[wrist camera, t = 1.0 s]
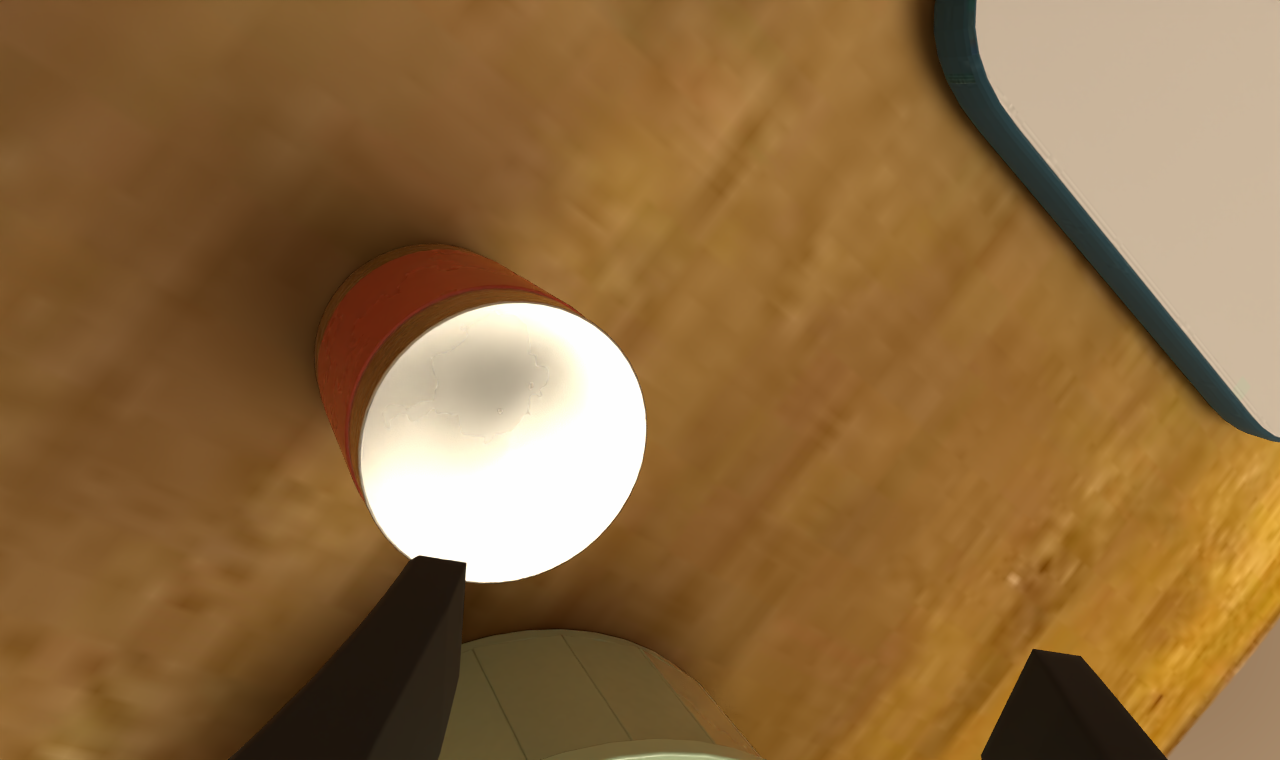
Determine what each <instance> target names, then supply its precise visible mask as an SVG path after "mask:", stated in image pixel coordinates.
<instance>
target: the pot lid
mask: <svg viewBox="0 0 1280 760" xmlns="http://www.w3.org/2000/svg"><path fill="white" fill-rule="evenodd" d="M541 760H766V759H763V758H760V757H757V756H755V755H752V754H749V753H746V752H744V751H741V750H738V749H735V748H733V747H728V746H723V745H718V744H712V743H707V742H702V741H697V740H681V739H657V738H652V739H641V740H630V741H618V742H608V743H604V744H599V745H594V746H590V747H585V748H580V749H575V750H571V751H566V752H562V753H559V754H556V755H553V756H550V757H547V758H544V759H541Z"/></svg>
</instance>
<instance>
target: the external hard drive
mask: <svg viewBox="0 0 1280 760" xmlns="http://www.w3.org/2000/svg"><path fill="white" fill-rule="evenodd" d="M934 36H935V42H936V49H937V55H938V58H939V61H940V64H941V66H942V69H943V72H944V75H945V78H946V80H947V82H948V84H949V86H950V88H951V90H952V92H953V93H954V95H955V97H956V99H957V101H958V102H959V104H960V106H961V108H962V109H963V110H964V112H965V113H966V114H967V116H968V117H969V118H970V120H971V121H972V122H973V124H974V125H975V126H976V128H977V129H978V130H979V132H980V133H981V134H982V135H983V136H984V137H985V139H986V140H987V141H988V142H989V143H990V145H991V146H992V147H993V148H994V149H995V151H996V152H997V153H998V154H999V155H1000V156H1001V158H1002V159H1003V160H1004V161H1005V162H1006V164H1007V165H1008V166H1009V167H1010V168H1011V170H1012V171H1013V172H1014V173H1015V174H1016V175H1017V177H1018V178H1019V179H1020V180H1021V181H1022V183H1023V184H1024V185H1025V186H1026V187H1027V189H1028V190H1029V191H1030V192H1031V193H1032V194H1033V196H1034V197H1035V198H1036V199H1037V200H1038V202H1039V203H1040V204H1041V205H1042V206H1043V208H1044V209H1045V210H1046V211H1047V212H1048V213H1049V215H1050V216H1051V217H1052V218H1053V219H1054V221H1055V222H1056V223H1057V224H1058V225H1059V227H1060V228H1061V229H1062V230H1063V231H1064V232H1065V234H1066V235H1067V236H1068V237H1069V238H1070V240H1071V241H1072V242H1073V243H1074V244H1075V246H1076V247H1077V248H1078V249H1079V250H1080V251H1081V253H1082V254H1083V255H1084V256H1085V257H1086V259H1087V260H1088V261H1089V262H1090V263H1091V265H1092V266H1093V267H1094V268H1095V269H1096V270H1097V272H1098V273H1099V274H1100V275H1101V276H1102V278H1103V279H1104V280H1105V281H1106V282H1107V284H1108V285H1109V286H1110V287H1111V288H1112V289H1113V291H1114V292H1115V293H1116V294H1117V295H1118V297H1119V298H1120V299H1121V300H1122V301H1123V303H1124V304H1125V305H1126V306H1127V307H1128V308H1129V310H1130V311H1131V312H1132V313H1133V314H1134V316H1135V317H1136V318H1137V319H1138V320H1139V321H1140V323H1141V324H1142V325H1143V326H1144V327H1145V329H1146V330H1147V331H1148V332H1149V333H1150V335H1151V336H1152V337H1153V338H1154V339H1155V340H1156V342H1157V343H1158V344H1159V345H1160V346H1161V348H1162V349H1163V350H1164V351H1165V352H1166V354H1167V355H1168V356H1169V357H1170V358H1171V359H1172V361H1173V362H1174V363H1175V364H1176V365H1177V367H1178V368H1179V369H1180V370H1181V371H1182V373H1183V374H1184V375H1185V376H1186V377H1187V378H1188V380H1189V381H1190V382H1191V383H1192V384H1193V386H1194V387H1195V388H1196V389H1197V390H1198V392H1199V393H1200V394H1201V395H1202V396H1203V397H1204V399H1205V400H1206V401H1207V402H1208V403H1209V405H1210V406H1211V407H1212V408H1213V409H1214V410H1215V411H1216V412H1217V413H1218V414H1219V415H1220V416H1221V417H1222V418H1223V419H1224V420H1225V421H1227V422H1228V423H1230V424H1231V425H1233V426H1234V427H1236V428H1237V429H1239V430H1241V431H1243V432H1246V433H1248V434H1251V435H1254V436H1257V437H1260V438H1264V439H1267V440H1270V441H1275V442H1280V0H935V5H934Z"/></svg>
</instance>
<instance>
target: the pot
mask: <svg viewBox="0 0 1280 760" xmlns="http://www.w3.org/2000/svg"><path fill="white" fill-rule="evenodd" d="M652 738H657V739H681V740H697V741H702V742H707V743H712V744H718V745H723V746H728V747H733V748H735V749H738V750H741V751H744V752H746V753H749V754H752V755H755V756H757V757H760V758H762V757H761V756H760V755H759V754H758V753H757V751H756V750H755V749H754V748H753V747H752V745H751V744H750V743H749V742H748V741H747V740H746V738H745V737H744V736H743V735H742V734H741V732H740V731H739V730H738V729H737V728H736V726H735V725H734V724H733V723H732V722H731V720H730V719H729V718H728V717H727V716H726V715H725V713H724V712H723V711H722V710H721V709H720V707H719V706H718V705H717V704H716V703H715V701H714V700H713V699H712V698H711V697H710V696H709V694H708V693H707V692H706V691H705V690H704V688H703V687H702V686H701V685H700V684H699V683H698V682H697V681H696V680H694V679H692V678H691V677H689V676H688V675H687V674H686V673H684V672H683V671H682V670H681V669H680V668H679V667H678V666H676V665H675V664H673V663H672V662H670V661H669V660H667V659H665V658H664V657H662V656H660V655H659V654H657V653H655V652H654V651H652V650H650V649H647V648H645V647H642V646H640V645H637V644H635V643H632V642H630V641H627V640H625V639H621V638H617V637H612V636H608V635H604V634H600V633H596V632H588V631H577V630H567V629H548V630H525V631H519V632H513V633H506V634H500V635H494V636H489V637H485V638H481V639H478V640H474V641H471V642H467V643H463V644H461V657H460V672H459V679H458V683H457V688H456V692H455V696H454V700H453V704H452V708H451V712H450V717H449V721H448V725H447V729H446V733H445V737H444V740H443V744H442V748H441V752H440V755H439V758H438V760H541V759H544V758H547V757H550V756H553V755H556V754H559V753H562V752H566V751H571V750H575V749H580V748H585V747H590V746H594V745H599V744H604V743H608V742H618V741H630V740H641V739H652Z"/></svg>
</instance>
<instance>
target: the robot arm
mask: <svg viewBox="0 0 1280 760" xmlns="http://www.w3.org/2000/svg"><path fill="white" fill-rule="evenodd" d="M466 567H467V562H461V561H454V560H448V559H441V558H434V557H428V556H421V555H418V556H416V557H415V558H413V559H411V560H410V561H409V562H408V563H407V565H406V566H405V568H404V569H403V571H402V572H401V573H400V575H399V576H398V578H397V579H396V580H395V582H394V583H393V584H392V585H391V587H390V588H389V589H388V591H387V592H386V593H385V595H384V596H383V597H382V598H381V600H380V601H379V602H378V603H377V605H376V606H375V607H374V608H373V610H372V611H371V612H370V613H369V614H368V616H367V617H366V618H365V619H364V620H363V622H362V623H361V624H360V625H359V626H358V628H357V629H356V630H355V631H354V632H353V633H352V635H351V636H350V637H349V638H348V639H347V640H346V641H345V642H344V643H343V645H342V646H341V647H340V648H339V649H338V650H337V651H336V652H335V653H334V655H333V656H332V657H331V658H330V659H329V660H328V661H327V662H326V663H325V665H324V666H323V667H322V668H321V669H320V670H319V671H318V672H317V673H316V674H315V676H314V677H313V678H312V679H311V680H310V681H309V682H308V683H307V684H306V685H305V686H304V687H303V688H302V689H301V690H300V691H299V692H298V693H297V694H296V695H295V696H294V697H293V698H292V699H291V700H290V701H289V702H288V703H287V704H286V705H285V706H284V707H283V708H282V709H281V710H280V711H279V712H278V713H277V714H276V715H275V716H274V717H273V718H272V719H271V720H270V721H269V722H268V723H267V724H266V725H265V726H264V727H263V728H262V729H261V730H260V731H259V732H257V733H256V734H255V735H254V736H253V737H252V738H251V739H250V740H249V741H248V742H247V743H246V744H244V745H243V746H242V747H241V748H240V749H239V750H238V751H237V752H236V753H235V754H234V755H232V756H231V757H230V758H229V759H228V760H438V758H439V755H440V752H441V748H442V744H443V740H444V737H445V733H446V729H447V725H448V721H449V717H450V712H451V708H452V704H453V700H454V696H455V692H456V688H457V683H458V679H459V672H460V657H461V642H462V627H463V612H464V597H465V582H466ZM981 758H982V760H1168V759H1167V758H1166V757H1165V756H1164V755H1163V754H1162V752H1161V751H1160V750H1159V749H1158V748H1157V746H1156V745H1155V744H1154V743H1153V742H1152V740H1151V739H1150V738H1149V737H1148V736H1147V734H1146V733H1145V732H1144V731H1143V729H1142V728H1141V727H1140V726H1139V725H1138V723H1137V722H1136V721H1135V720H1134V719H1133V717H1132V716H1131V715H1130V714H1129V713H1128V711H1127V710H1126V709H1125V708H1124V707H1123V705H1122V704H1121V703H1120V702H1119V701H1118V699H1117V698H1116V697H1115V696H1114V695H1113V693H1112V692H1111V691H1110V690H1109V689H1108V687H1107V686H1106V685H1105V684H1104V683H1103V681H1102V680H1101V679H1100V678H1099V677H1098V676H1097V674H1096V673H1095V672H1094V671H1093V670H1092V669H1091V667H1090V666H1089V665H1088V664H1087V663H1086V662H1085V661H1084V659H1083V658H1082V657H1081V656H1076V655H1070V654H1063V653H1056V652H1050V651H1043V650H1037V649H1033V650H1032V652H1031V654H1030V656H1029V658H1028V660H1027V662H1026V664H1025V666H1024V668H1023V670H1022V672H1021V674H1020V676H1019V679H1018V681H1017V683H1016V685H1015V687H1014V689H1013V691H1012V693H1011V695H1010V697H1009V699H1008V701H1007V703H1006V705H1005V707H1004V709H1003V711H1002V713H1001V715H1000V717H999V719H998V722H997V724H996V726H995V728H994V730H993V732H992V734H991V736H990V738H989V740H988V742H987V744H986V746H985V748H984V750H983V752H982V754H981Z"/></svg>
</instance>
